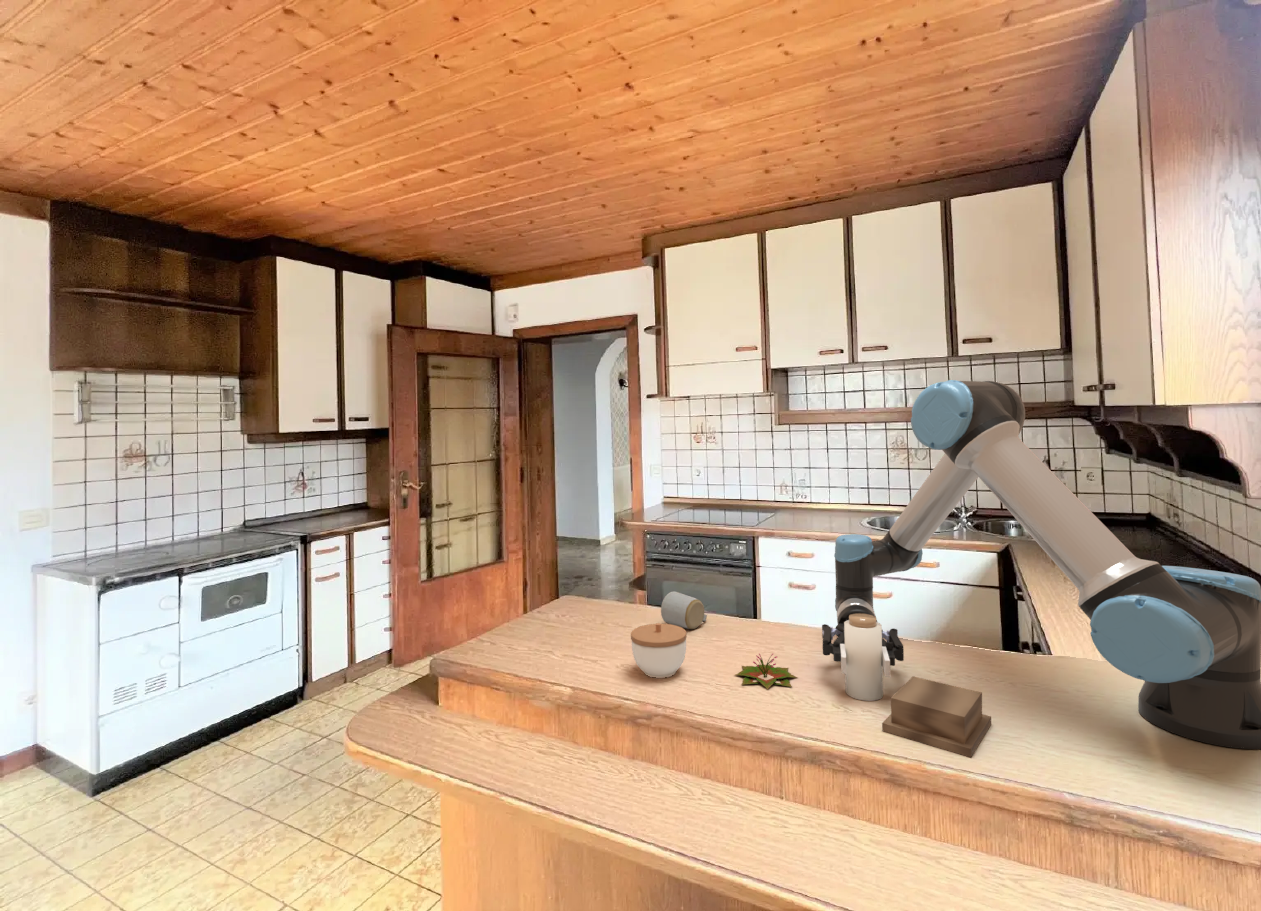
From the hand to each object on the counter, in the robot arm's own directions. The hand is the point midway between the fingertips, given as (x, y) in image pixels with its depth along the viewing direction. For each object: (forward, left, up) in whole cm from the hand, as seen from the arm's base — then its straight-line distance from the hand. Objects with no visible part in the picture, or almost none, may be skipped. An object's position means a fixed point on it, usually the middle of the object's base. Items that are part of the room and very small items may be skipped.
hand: (865, 666), depth 100 cm
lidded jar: (+36, +9, -7) cm, 38 cm away
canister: (+2, -5, -7) cm, 8 cm away
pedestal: (-11, 0, -7) cm, 13 cm away
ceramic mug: (+49, -16, -7) cm, 52 cm away
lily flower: (+19, -1, -7) cm, 20 cm away
